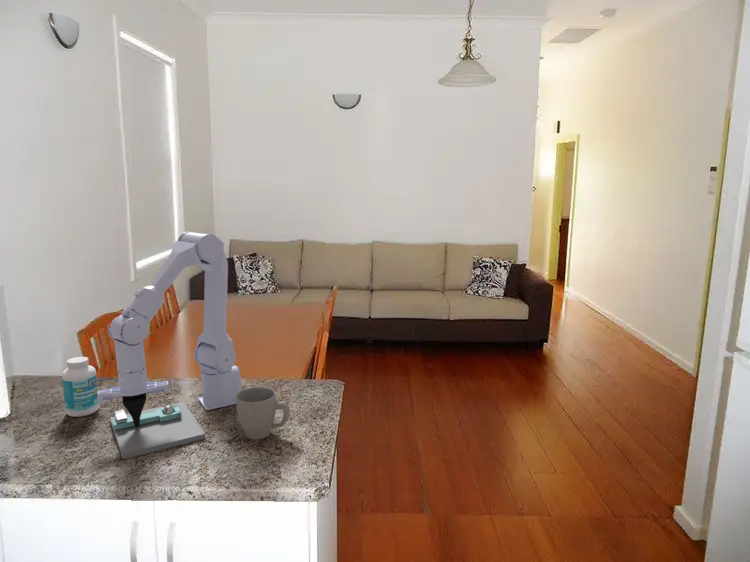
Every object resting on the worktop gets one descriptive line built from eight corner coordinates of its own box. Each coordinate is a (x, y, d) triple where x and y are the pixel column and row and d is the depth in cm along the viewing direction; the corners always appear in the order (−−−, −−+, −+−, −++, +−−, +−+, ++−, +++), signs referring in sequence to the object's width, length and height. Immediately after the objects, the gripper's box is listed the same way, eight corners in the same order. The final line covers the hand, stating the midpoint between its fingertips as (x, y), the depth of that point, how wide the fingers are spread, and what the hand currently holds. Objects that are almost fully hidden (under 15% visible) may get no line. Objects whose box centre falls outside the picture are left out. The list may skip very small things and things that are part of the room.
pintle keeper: (170, 414, 136) (169, 399, 135) (175, 422, 131) (173, 407, 131) (115, 426, 130) (114, 411, 129) (119, 435, 125) (117, 419, 124)
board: (184, 406, 141) (183, 401, 140) (205, 438, 124) (205, 433, 124) (110, 422, 132) (109, 417, 132) (122, 459, 115) (122, 454, 115)
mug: (231, 441, 123) (229, 401, 121) (246, 423, 131) (244, 385, 129) (284, 446, 121) (282, 404, 119) (295, 427, 129) (294, 388, 127)
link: (177, 409, 135) (176, 405, 135) (181, 417, 131) (181, 412, 131) (112, 423, 128) (111, 418, 128) (114, 432, 124) (114, 427, 124)
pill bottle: (76, 420, 133) (70, 367, 130) (59, 413, 136) (53, 361, 134) (106, 409, 139) (100, 358, 136) (88, 402, 143) (83, 352, 140)
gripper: (166, 358, 129) (170, 412, 132) (96, 367, 124) (103, 423, 127) (166, 368, 123) (171, 425, 126) (94, 378, 118) (100, 437, 121)
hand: (137, 425), depth 126 cm, fingers closed, pressing on link
